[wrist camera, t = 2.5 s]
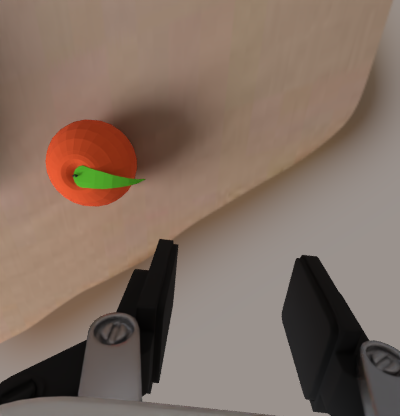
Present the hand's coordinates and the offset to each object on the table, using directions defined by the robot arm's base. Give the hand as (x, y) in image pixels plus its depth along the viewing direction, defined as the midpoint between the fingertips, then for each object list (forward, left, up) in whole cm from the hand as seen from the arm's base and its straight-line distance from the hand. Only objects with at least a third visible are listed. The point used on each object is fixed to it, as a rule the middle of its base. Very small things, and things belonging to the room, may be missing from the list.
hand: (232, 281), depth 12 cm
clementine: (0, -10, -18) cm, 20 cm away
